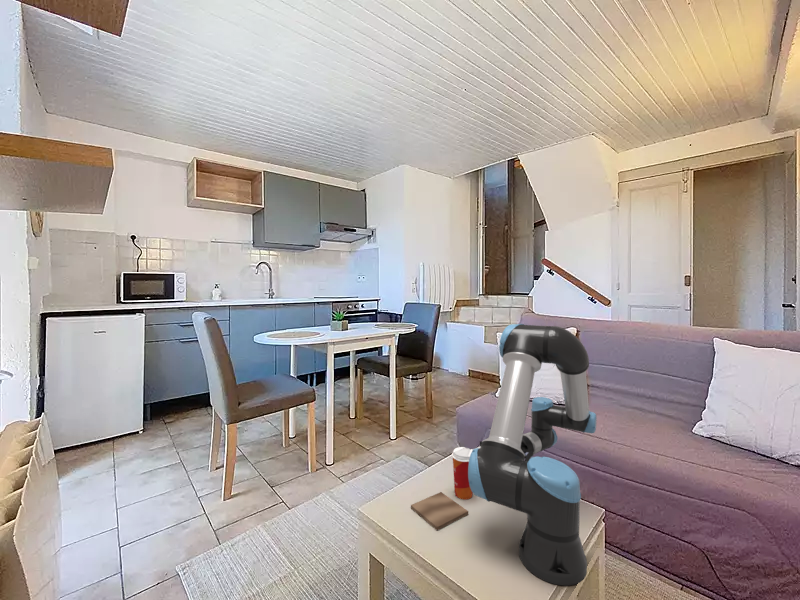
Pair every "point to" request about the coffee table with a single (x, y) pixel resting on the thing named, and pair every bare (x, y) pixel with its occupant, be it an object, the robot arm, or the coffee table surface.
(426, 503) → the walnut pad
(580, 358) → the robot arm
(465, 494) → the paper cup
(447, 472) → the coffee table surface
